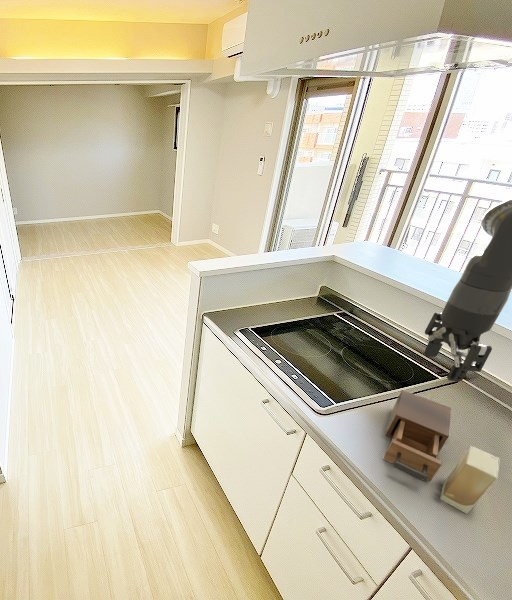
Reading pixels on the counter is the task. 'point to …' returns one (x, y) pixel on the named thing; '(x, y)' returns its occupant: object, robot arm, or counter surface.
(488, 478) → the cosmetic box
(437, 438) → the drawer
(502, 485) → the counter surface
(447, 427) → the cabinet
